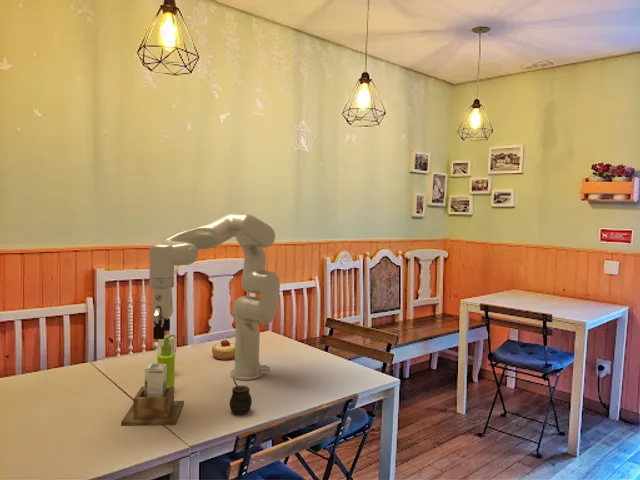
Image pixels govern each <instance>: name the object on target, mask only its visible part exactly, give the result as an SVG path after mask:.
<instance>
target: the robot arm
mask: <svg viewBox="0 0 640 480" xmlns="http://www.w3.org/2000/svg"><path fill="white" fill-rule="evenodd" d="M233 237H235V239H236V241H237V243H238V244H239V245H240V247H241V249H242V251H243V255H244V256H243V257H244V259H243V267H242V274H241V282H240V283H241V289H242V290H243V291H245V292H246V293H250V294H256V295H260V297H258V296H257V297H256V296H253V295H252V296H251V295H243V296H239V297H238V298H237V299H236V300H235V301H234V304H233V315H234V317H233V318H234V322H235V339H234V341H235V342H234V344H235V358H234V369H232V370H231V371H230V377H232V378H233V379H234V380H235V379H236V380H239V381H241V380H242V381H251V380H256V379H259V378H261V377H262V376H263V372H271V366H268V365H267V364H261V363H260V337H261V334H260V333H261V330H260V327H259V326H260V325H259V324H261V325H268V324H271V323H272V322H273V321H274V319H275V317H276V315H277V310H278V302H279V298H280V296H279V295H280V290H281V289H280V288H281V287H280V286H281V284H280V283H281V281H280V278H279V276H278V274H277V273H276V272H273V271H271V270H266V260H267V256H266V253H265V250H264V248H270V247H271V246H273V244H274V243H275V240H276V233H275V230H274V229H273V227H272V226H271V225H270V224H268V223H266V222H264V221H263V220H261V219H260V218H258V217H256V216H254V215H252V214H249V213H236V212H230V213H227V214H224V215H223V216H220V217H218V218H217V219H214V220H212V221H211V222H209V223H207V224H205V225H203V226H199V227H198V226H197V227H195V228H192V229H190V230H189V229H188V230H185V231H182V232H178V233H177V234H175V235H172V236H170V237H169V238H166V239H165V240H163V241H162V242H161V243H154V244H151V245H150V247H149V250H148V251H149V252H148V254H149V260H148V261H149V263H148V264H149V266H148V267H149V268H148V269H149V279H148V280H149V288H150V289H152V294H151V295H152V300H151V301H152V302H151V305H152V306H151V314H152V319H153V331H152V332H153V334H152V337H153V340H158V339H164V336H165V332H167V331H168V332H169V331H170V330H171V323H170V322H171V318H170V317H172V315H173V313H174V304H173V288H174V287H175V266H189V265H192V264H194V263H195V262H196V261H197V260H198V257H199V250H209V249H213V248H214V249H215V248H216V247H219V246H220V245H222V244H224V243H225V242H227V241H228V240H230V239H232V238H233Z"/></svg>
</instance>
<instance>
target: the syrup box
mask: <svg viewBox="0 0 640 480" xmlns="http://www.w3.org/2000/svg"><path fill="white" fill-rule="evenodd" d="M166 374H167V365H166V364H160V363H149V364H148V365H147V367H146V368H145V369H144V386H143V387H144V397H165V396H166Z"/></svg>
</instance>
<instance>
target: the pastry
mask: <svg viewBox="0 0 640 480" xmlns="http://www.w3.org/2000/svg"><path fill="white" fill-rule="evenodd" d="M228 338H229V340H232V338H231V337H230V336H226V338H225V339H222V340H221V341H220V343H217V344H216V343H215V344H213V345H212V347H211V353H212V357H214V359H216V360H219V361H228V360H230V361H231V360H233V359H234V360H235V343H233V342H231V343H230V341H229V340H227V339H228Z"/></svg>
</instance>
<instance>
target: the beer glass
mask: <svg viewBox="0 0 640 480" xmlns="http://www.w3.org/2000/svg"><path fill="white" fill-rule="evenodd" d="M163 344H164V339H157V356H158V355H159V354H161V346H162V345H163ZM169 344H170V345H171V353H173V354H175V356H176V353H177V338H176V335H175V336H174V337H170V338H169ZM174 376H175V372H174Z"/></svg>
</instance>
